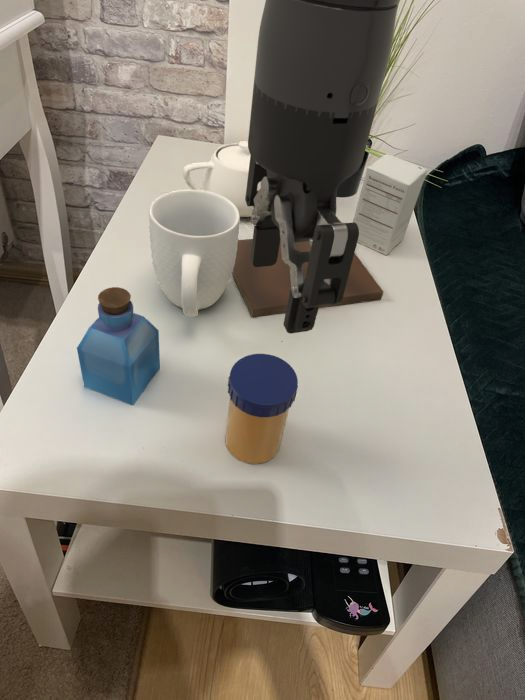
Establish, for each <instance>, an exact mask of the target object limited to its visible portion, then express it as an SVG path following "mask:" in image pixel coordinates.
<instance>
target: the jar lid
mask: <svg viewBox="0 0 525 700" xmlns="http://www.w3.org/2000/svg"><path fill="white" fill-rule="evenodd" d="M298 379H299V378H298V375H297V373H296V371H295V369H294V368H293V367H292V366H291V365H290V363H288V362H287V361H286V360H284V359H282V358H280V357H279V356H276V355H273V354H267V353H252V354H248V355H246V356H243V357H241V358H240V359H238V360H237V361H236V362H234V364H233V365H232V367H231V370H230V372H229V376H228V378H227V380H228V381H227V387H228V388H227V394H228V395H229V400H232V402H233V403H234V404H235V406H236V407H238V408H239V409H240V410H241V411H242V412H245V413H247V414H249V415H252V416H256V417H268V418H269V417H273V416H278V415H280V414H282V413H284V412H285V411H286V410H288V409H289V410H290V408H292V405H293V403H294V402H295V400H296V397H297V392H298V387H299V386H298V384H299V381H298Z"/></svg>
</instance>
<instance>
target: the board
mask: <svg viewBox="0 0 525 700" xmlns="http://www.w3.org/2000/svg"><path fill="white" fill-rule="evenodd" d="M252 241H253V238H247V239H238V244H237V252H236V259H235V264H234V267H233V272H232V275H231V276H232V278H233V280H234V282H235V284H236V286H237V288H238V291H239V292H240V294H241V296H242V299H243V301H244V303H245V306H246V307H247V311H248V312H249V313H250V316H251V318H256V317H263V316H264V317H265V316H270V315H278V314H286V309H287V303H288V298H289V293H290V290H291V279H290V267H289V265H288V264H286V263H284V261H283V260H282V252H281V240H280V246H279V252H278V258H277V262H276V263H275V264H274V265H272V266H264V267H254V266H253V264H252V262H251V260H250V257H251V249H252ZM294 245H295V248H296V249H297V250H298V251H300V252H301V251H311V246H310V244H309V242H299V243H294ZM307 267H308V262H305V263H304V264H303V266H302V269H303V280H304V279H305V277H306V272H307ZM329 280H330V283H331V279H329ZM383 296H384V290H383V289H382V288H381V286H380V285H379V284H378V282H377V281H376V279H375V278H374V277H373V276H372V274H371V273H370V271H369V270H368V269H367V267H366V266H365V265H364V264H363V262H362V261H361V259H360V258H359V257H358V255H357V254H356V253H354V257H353V261H352V264H351V268H350V272H349V276H348V280H347V284H346V288H345V292H344V295H343V299H342V302H341V303H340V304H334V305H333V304H330V305H323V306H319V308H318V309H321V308H329V307H336V306H343V305H352V304H358V303H365V302H373V301H380V300H382V298H383Z"/></svg>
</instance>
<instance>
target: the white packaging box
mask: <svg viewBox="0 0 525 700" xmlns="http://www.w3.org/2000/svg"><path fill="white" fill-rule="evenodd" d="M427 173H428V169H427V168H425V167H423V166H421V165H418V164H416V163H412V162H410V161H407V160H405V159H402V158H399V157H397V156H394V155H392V154H389V153H386V154H384V155H383V156H381V157H380V158H378V159H377V160H376V161H375V162H373V163H372V164H370V165H369V166H368V167H366V171H365V176H364V179H363V183H362V186H361V190H360V193H359V198H358V200H357V205H356V209H355V212H354V216H353V219H352V222H355V223H356V224H357V226H358V228H359V237H358V241H357V244H358V243H359V244H360V245H363V246H365V247H367V248H369V249H371V250H373V251H376V252H378V253H380V254H383V255H385V256H387V255H388V254H390V252H391V251H393V249H394V248H396V246H397V245H398V244H400V242H401V241H402V240H403V239H404V238H405V235H406V233H407V230H408V227H409V225H410V221H411V218H412V215H413V213H414V210H415V207H416V205H417V201H418V198H419V195H420V193H421V189H422V188H423V187H422V186H423V184H424V181H425V179H426V175H427Z"/></svg>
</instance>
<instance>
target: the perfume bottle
mask: <svg viewBox="0 0 525 700" xmlns="http://www.w3.org/2000/svg"><path fill="white" fill-rule="evenodd" d="M131 297H132V295H131V293H130V292H129V291H128V290H127V289H125V288H123V287H119V286H113V287H108V288H105V289H103V290H101V291H100V292H99V293H98V296H97V300H98V302H99V303H98V305H97V315H98V317H97V319H96V320H95V321H94V322H93V323H92V324H91V325H90V326H89V327H88V329H87V330H86V332H85V334H84V335H83V337H82V339H81V340H80V342H79V344H78V345H77V347H76V351H77V357H78V361H79V366H80V367H79V368H80V372H81V377H82V382H83V383H82V384H83V387H84V388H86V389H89V390H92V391H94V392H96V393H99V394H102V395H104V396H107V397H110V398H113V399H115V400H118V401H121V402H123V403H125V404H129V405H131V406H134V405H135V404H136V403H137V401H138V400H139V398H140V397H141V395H142V394H143V393H144V391H145V390H146V389H147V387H148V386H149V384H150V383H151V382H152V380H153V379H154V378H155V376H156V374H158V372H159V370H160V369H161V362H160V361H161V360H160V331H159V329H158V328H157V327H156V326H155V325H154V324H152V323H151V322H150V321H149V320H148V319H147V318H146V317H145V316H143V315H140V314H138V313H135V312H134V304H133V302H132V301H131Z"/></svg>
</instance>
